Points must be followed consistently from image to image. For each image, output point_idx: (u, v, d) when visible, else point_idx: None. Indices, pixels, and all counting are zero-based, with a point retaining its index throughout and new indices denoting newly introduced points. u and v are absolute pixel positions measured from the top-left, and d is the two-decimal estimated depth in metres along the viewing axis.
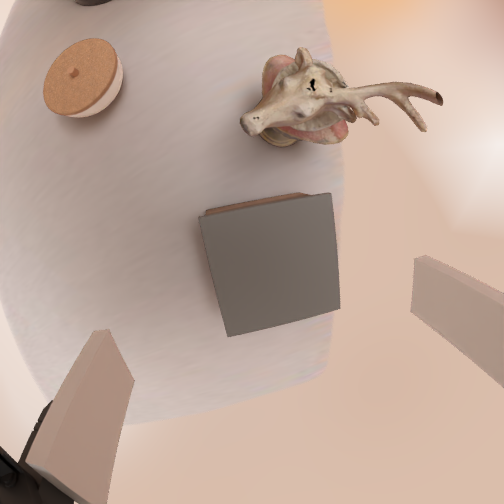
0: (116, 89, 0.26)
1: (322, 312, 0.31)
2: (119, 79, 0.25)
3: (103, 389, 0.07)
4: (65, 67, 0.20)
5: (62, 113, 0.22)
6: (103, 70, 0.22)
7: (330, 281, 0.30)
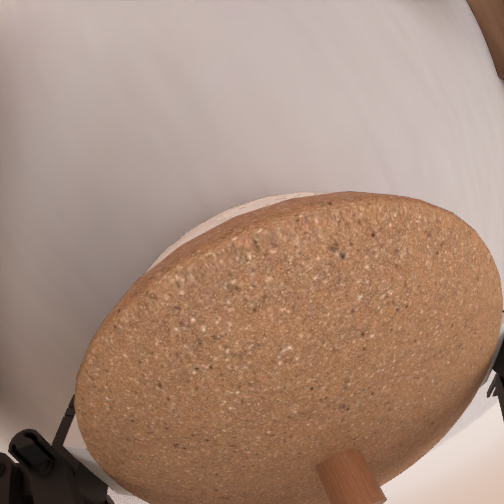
0: None
1: None
2: None
3: None
4: (266, 502, 0.04)
5: None
6: (425, 298, 0.03)
7: None
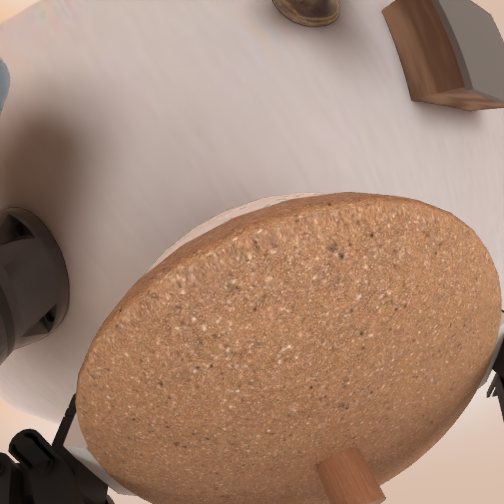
0: None
1: (497, 28, 0.11)
2: None
3: None
4: (267, 501, 0.05)
5: (455, 419, 0.06)
6: (423, 298, 0.03)
7: (479, 10, 0.11)
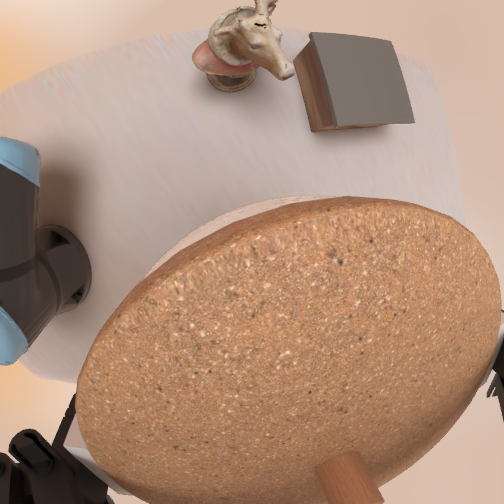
0: None
1: (394, 53, 0.28)
2: None
3: None
4: (266, 503, 0.05)
5: None
6: (423, 303, 0.03)
7: (373, 43, 0.27)
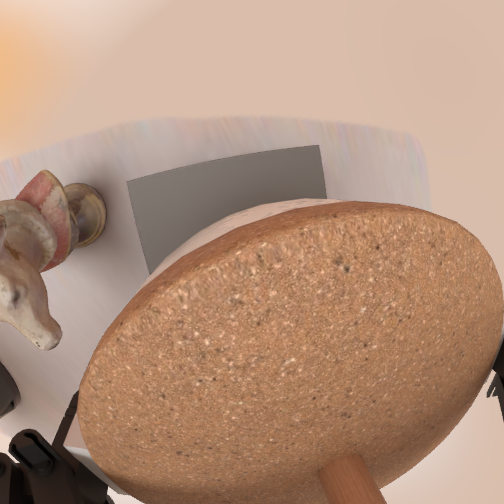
0: None
1: (321, 176, 0.19)
2: None
3: None
4: None
5: None
6: (427, 308, 0.03)
7: (268, 166, 0.18)
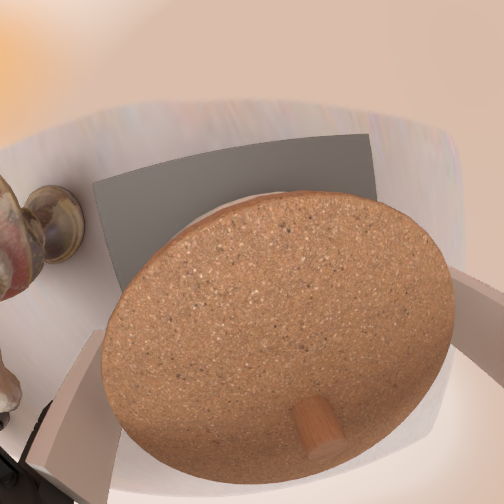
0: None
1: (371, 178, 0.13)
2: None
3: (103, 389, 0.07)
4: (252, 452, 0.06)
5: None
6: (358, 264, 0.05)
7: (301, 161, 0.12)
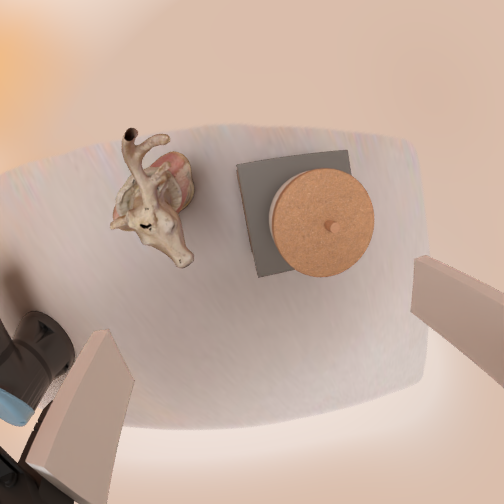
0: None
1: (349, 168, 0.31)
2: None
3: (103, 389, 0.07)
4: (313, 244, 0.25)
5: (370, 238, 0.26)
6: (336, 183, 0.24)
7: (320, 161, 0.31)
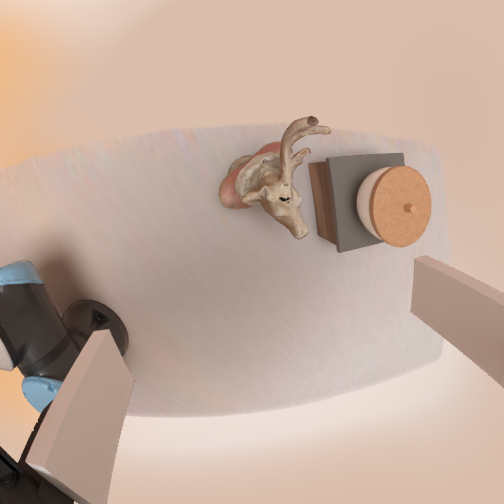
0: None
1: None
2: None
3: (103, 389, 0.07)
4: (396, 221, 0.31)
5: None
6: (411, 177, 0.29)
7: (385, 160, 0.36)
